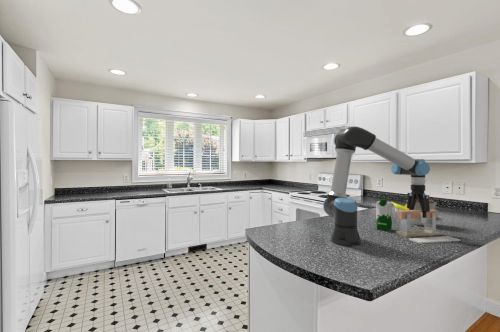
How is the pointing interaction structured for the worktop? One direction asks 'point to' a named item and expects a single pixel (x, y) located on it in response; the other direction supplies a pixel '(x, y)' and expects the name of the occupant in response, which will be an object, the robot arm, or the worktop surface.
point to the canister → (418, 207)
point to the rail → (415, 214)
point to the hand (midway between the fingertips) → (417, 221)
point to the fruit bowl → (400, 207)
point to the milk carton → (384, 215)
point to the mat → (433, 239)
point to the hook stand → (428, 230)
